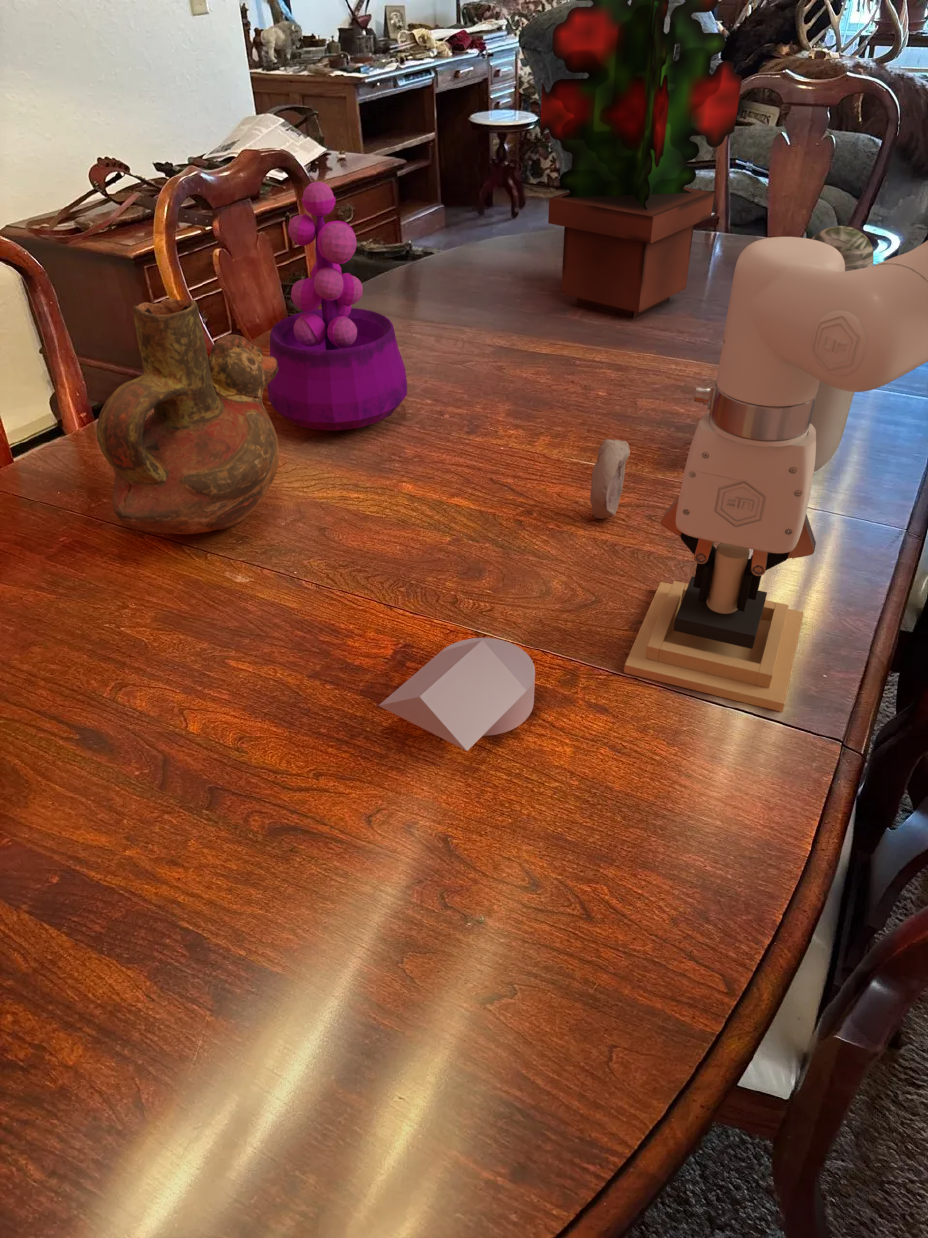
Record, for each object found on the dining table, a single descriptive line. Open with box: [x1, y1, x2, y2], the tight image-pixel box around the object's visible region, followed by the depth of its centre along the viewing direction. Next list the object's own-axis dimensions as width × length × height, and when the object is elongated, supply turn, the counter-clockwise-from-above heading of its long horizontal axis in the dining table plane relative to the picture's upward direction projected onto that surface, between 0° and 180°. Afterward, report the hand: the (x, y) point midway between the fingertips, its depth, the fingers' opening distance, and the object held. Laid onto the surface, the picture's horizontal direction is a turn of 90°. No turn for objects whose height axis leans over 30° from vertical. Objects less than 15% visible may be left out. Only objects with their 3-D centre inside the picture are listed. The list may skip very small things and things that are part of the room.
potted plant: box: [539, 0, 743, 319], centre depth 149 cm, size 22×22×45 cm
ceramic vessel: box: [96, 298, 280, 535], centre depth 99 cm, size 17×26×25 cm, turn 152°
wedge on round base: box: [378, 637, 536, 752], centre depth 78 cm, size 9×7×13 cm
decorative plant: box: [266, 181, 408, 431], centre depth 118 cm, size 19×18×30 cm
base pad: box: [623, 580, 805, 713], centre depth 86 cm, size 14×14×2 cm
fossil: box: [589, 438, 631, 520], centre depth 102 cm, size 6×4×10 cm, turn 149°
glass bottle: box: [810, 225, 874, 473], centre depth 105 cm, size 10×10×28 cm
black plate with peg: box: [674, 543, 768, 649], centre depth 82 cm, size 7×7×8 cm
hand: (723, 596), depth 83 cm, fingers closed on black plate with peg, 2 cm apart
